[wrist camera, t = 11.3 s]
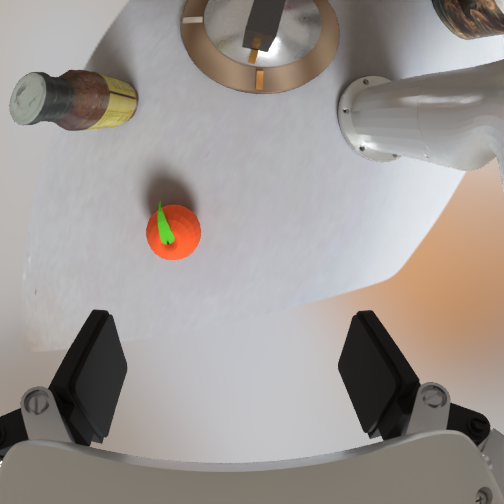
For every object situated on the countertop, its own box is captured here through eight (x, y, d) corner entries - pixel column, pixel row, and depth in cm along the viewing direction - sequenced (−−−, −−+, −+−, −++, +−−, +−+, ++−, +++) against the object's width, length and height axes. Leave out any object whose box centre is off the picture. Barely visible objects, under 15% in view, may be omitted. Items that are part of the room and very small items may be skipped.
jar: (437, -22, 21) (486, -42, 7) (478, 19, 23) (529, 11, 10) (425, 7, 24) (482, -14, 11) (469, 52, 27) (528, 46, 14)
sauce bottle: (98, 88, 28) (1, 68, 10) (140, 78, 29) (60, 37, 11) (100, 133, 31) (-1, 146, 13) (142, 125, 31) (57, 123, 13)
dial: (220, -27, 21) (219, -56, 14) (325, -3, 23) (346, -26, 17) (192, 57, 27) (183, 38, 20) (306, 81, 29) (326, 69, 22)
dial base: (332, -15, 24) (338, -21, 22) (332, 102, 32) (339, 101, 30) (190, -27, 22) (189, -34, 20) (177, 93, 30) (174, 90, 28)
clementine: (144, 200, 35) (127, 215, 29) (192, 184, 35) (184, 196, 29) (163, 252, 39) (152, 276, 32) (209, 239, 38) (206, 262, 32)
